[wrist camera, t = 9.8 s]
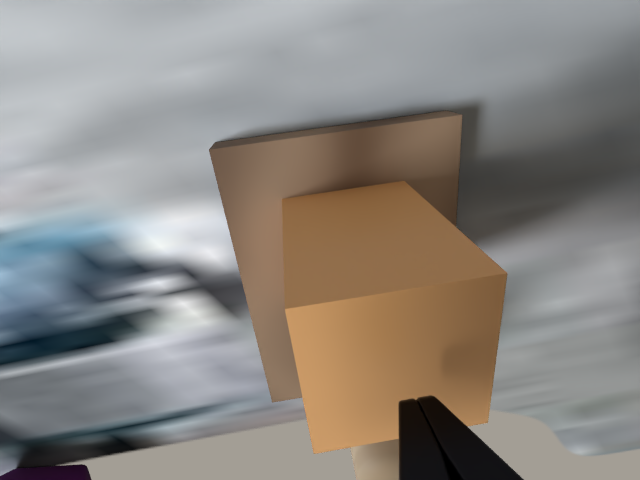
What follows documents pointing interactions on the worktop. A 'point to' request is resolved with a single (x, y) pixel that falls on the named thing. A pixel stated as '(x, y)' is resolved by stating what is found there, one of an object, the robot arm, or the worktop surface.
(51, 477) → the perfume bottle
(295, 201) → the kraft paper carton
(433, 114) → the wooden holder
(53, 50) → the worktop surface
